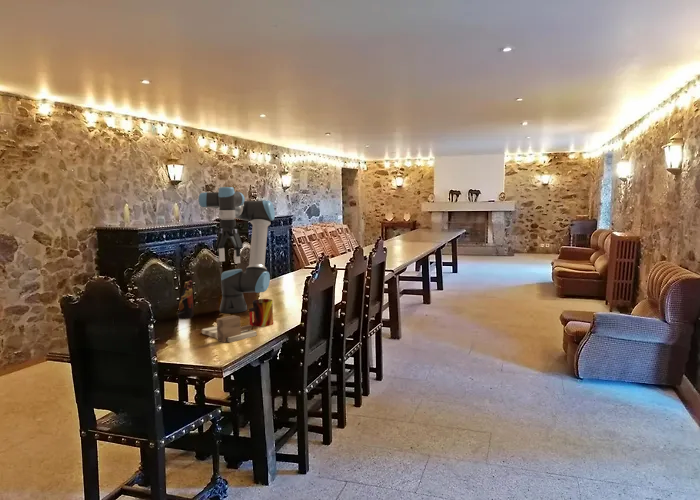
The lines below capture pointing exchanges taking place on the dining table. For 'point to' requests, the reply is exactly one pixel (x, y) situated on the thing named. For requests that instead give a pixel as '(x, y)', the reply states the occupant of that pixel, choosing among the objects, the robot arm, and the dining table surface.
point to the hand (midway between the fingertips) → (229, 262)
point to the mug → (261, 313)
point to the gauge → (229, 327)
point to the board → (244, 334)
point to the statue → (186, 302)
